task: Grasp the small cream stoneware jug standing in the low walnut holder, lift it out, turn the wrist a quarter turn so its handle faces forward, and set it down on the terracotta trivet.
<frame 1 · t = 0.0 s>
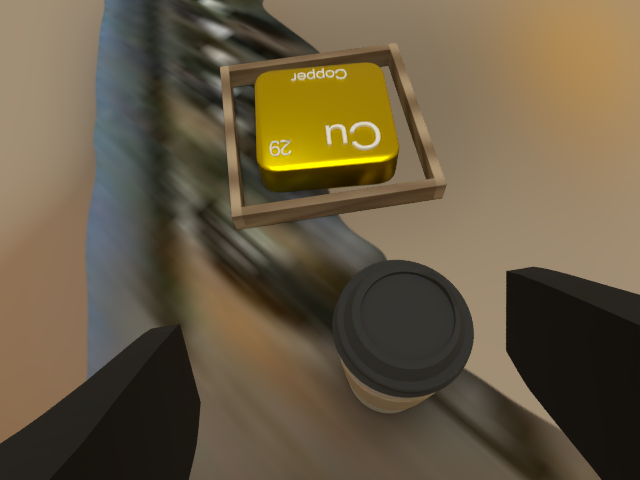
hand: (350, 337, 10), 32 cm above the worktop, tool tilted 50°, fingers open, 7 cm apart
coffee cup: (385, 373, 42), on the worktop
element tile: (324, 139, 56), resting in corral
corral: (323, 135, 55), on the worktop
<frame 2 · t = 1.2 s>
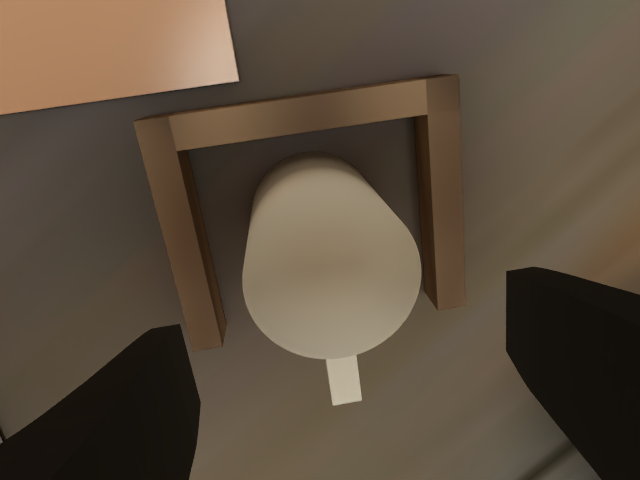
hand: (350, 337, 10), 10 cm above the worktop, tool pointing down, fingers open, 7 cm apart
holder: (314, 223, 20), on the worktop
jug: (312, 212, 20), on the worktop
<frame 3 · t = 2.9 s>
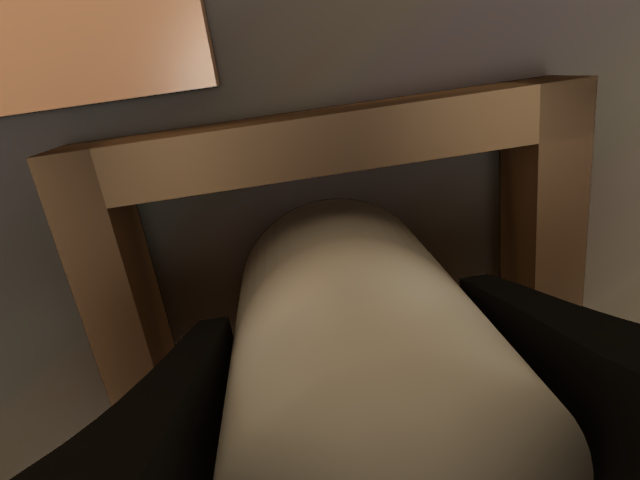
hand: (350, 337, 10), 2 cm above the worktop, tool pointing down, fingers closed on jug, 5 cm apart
holder: (338, 306, 13), on the worktop
jug: (336, 290, 13), on the worktop, touching gripper
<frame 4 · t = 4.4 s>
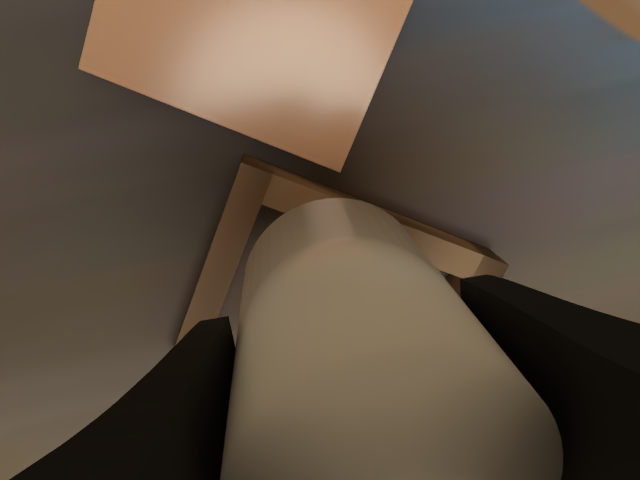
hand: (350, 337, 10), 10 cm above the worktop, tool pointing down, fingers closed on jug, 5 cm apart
holder: (326, 309, 21), on the worktop
jug: (333, 283, 13), point 7 cm above the worktop, touching gripper
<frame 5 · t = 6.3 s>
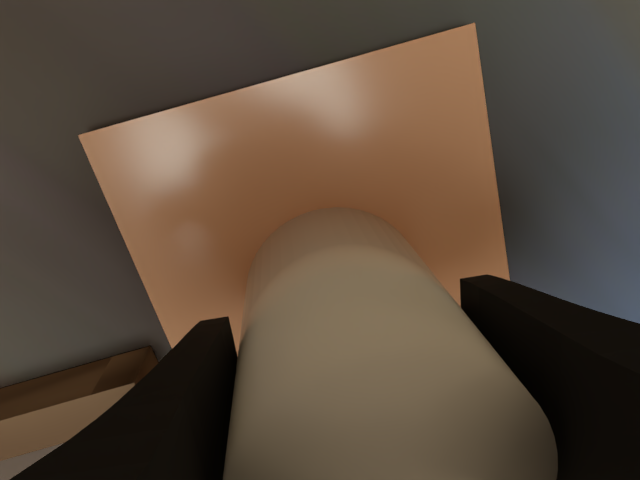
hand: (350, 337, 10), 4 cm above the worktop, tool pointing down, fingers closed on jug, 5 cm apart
trivet: (325, 254, 14), on the worktop
jug: (334, 291, 14), point 1 cm above the worktop, touching gripper, trivet
when the fingers open (4 cm above the worktop, at t = 7.0 s): jug stays where it is, resting on trivet.
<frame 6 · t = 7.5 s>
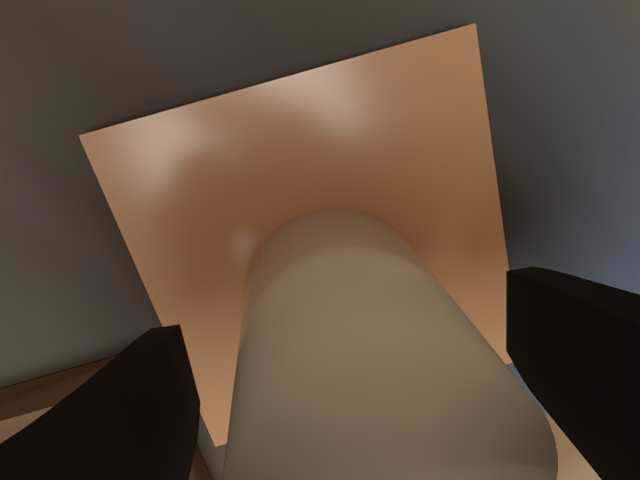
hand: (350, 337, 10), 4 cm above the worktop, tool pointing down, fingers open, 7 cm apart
trivet: (326, 254, 14), on the worktop
jug: (334, 292, 14), point 1 cm above the worktop, touching trivet
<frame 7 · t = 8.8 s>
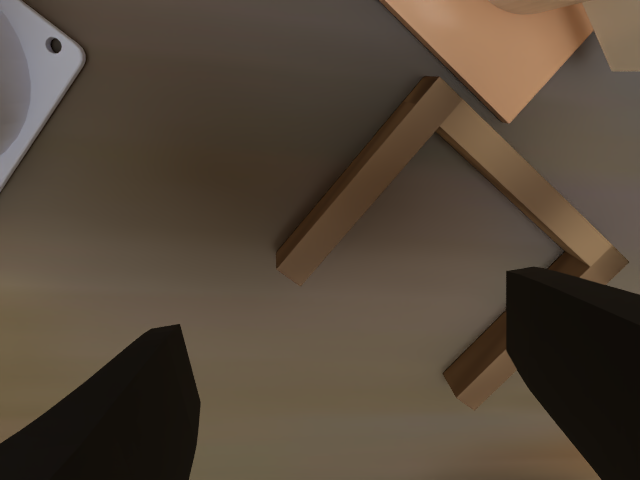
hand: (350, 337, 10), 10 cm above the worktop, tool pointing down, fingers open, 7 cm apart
holder: (434, 259, 21), on the worktop
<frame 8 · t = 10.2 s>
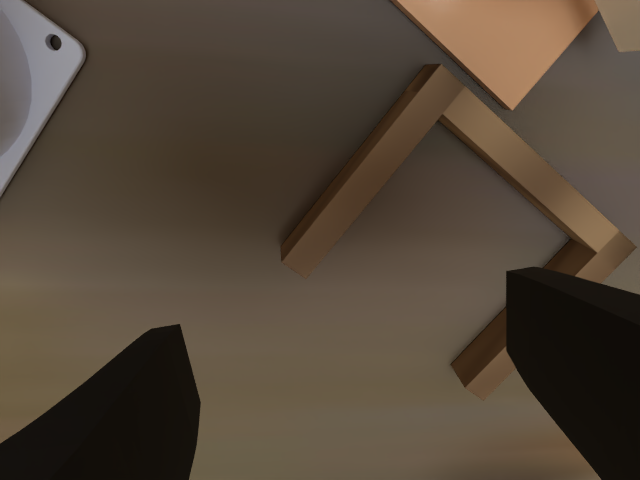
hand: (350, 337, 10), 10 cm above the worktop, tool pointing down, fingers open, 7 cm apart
holder: (440, 250, 21), on the worktop
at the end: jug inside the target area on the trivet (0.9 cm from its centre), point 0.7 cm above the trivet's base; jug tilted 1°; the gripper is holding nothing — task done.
